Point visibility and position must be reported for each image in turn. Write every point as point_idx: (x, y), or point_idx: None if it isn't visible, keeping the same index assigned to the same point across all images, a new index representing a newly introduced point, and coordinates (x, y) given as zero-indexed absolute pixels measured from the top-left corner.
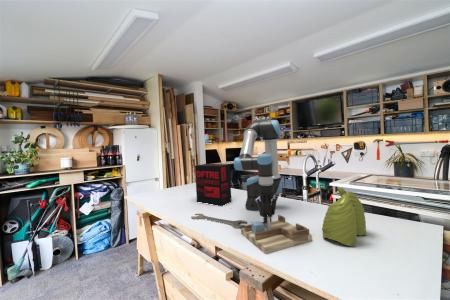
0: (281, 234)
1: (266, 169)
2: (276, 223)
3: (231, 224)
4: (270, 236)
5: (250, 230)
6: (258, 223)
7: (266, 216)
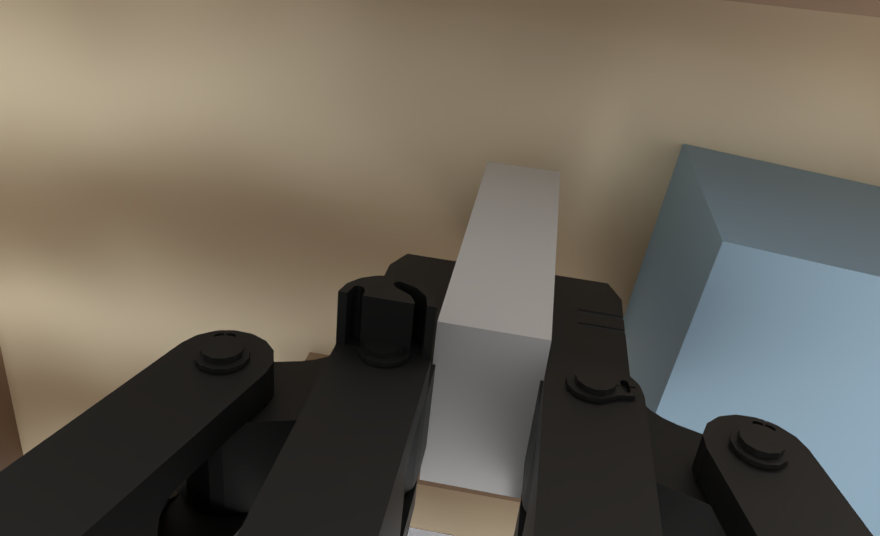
0: None
1: None
2: (131, 372)
3: None
4: None
5: None
6: (816, 385)
7: (605, 380)
